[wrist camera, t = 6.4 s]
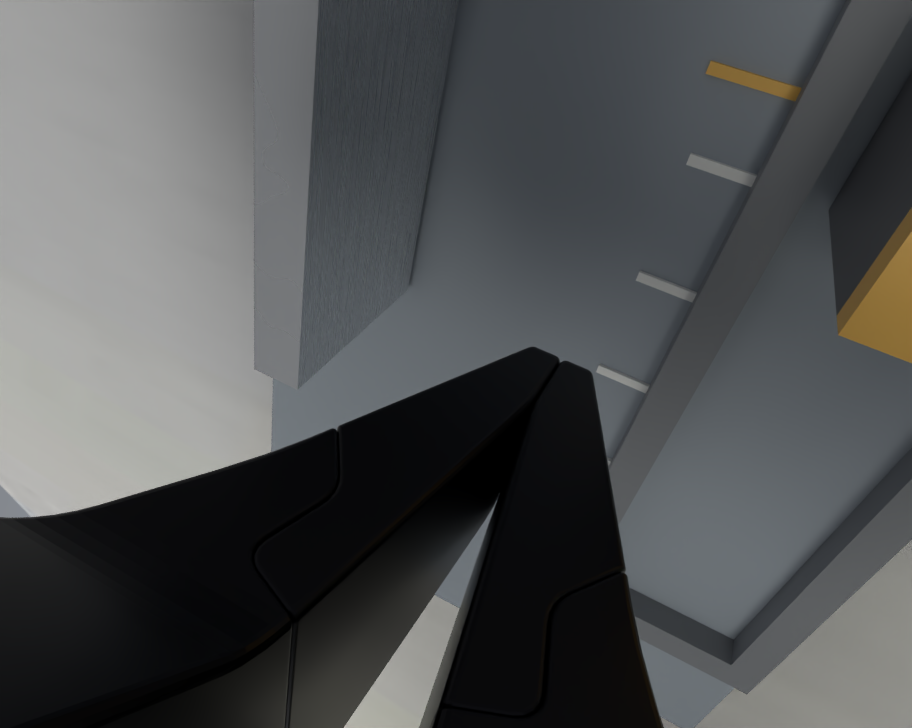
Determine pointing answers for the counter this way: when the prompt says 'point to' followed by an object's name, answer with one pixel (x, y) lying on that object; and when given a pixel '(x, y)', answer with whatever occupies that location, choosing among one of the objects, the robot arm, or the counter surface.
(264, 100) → the rack door
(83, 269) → the counter surface
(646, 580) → the console
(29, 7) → the counter surface
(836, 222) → the fader knob
